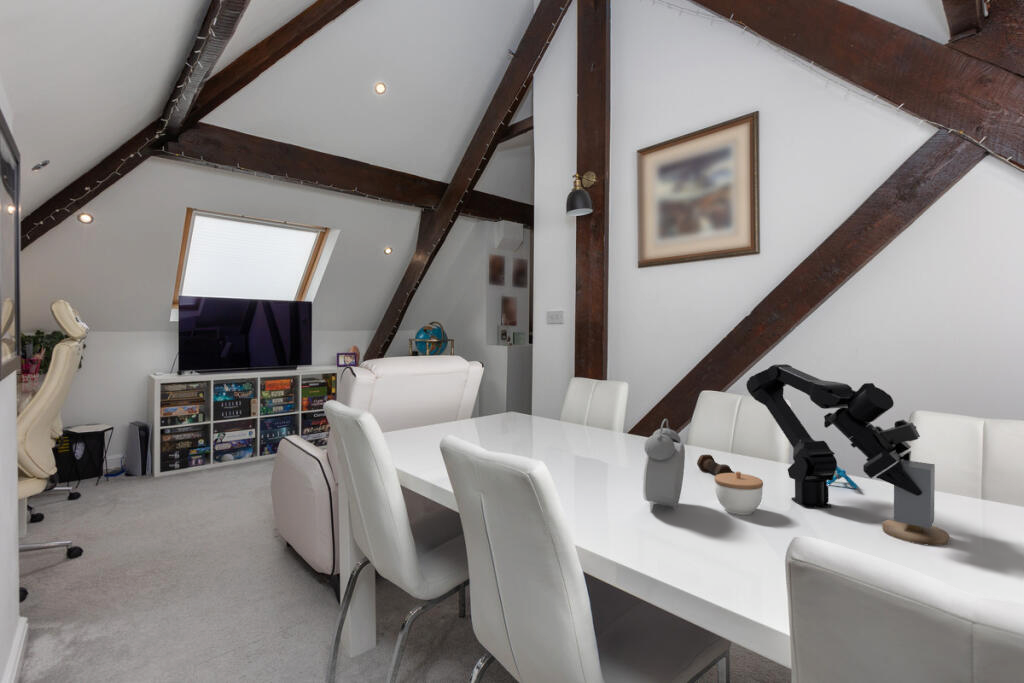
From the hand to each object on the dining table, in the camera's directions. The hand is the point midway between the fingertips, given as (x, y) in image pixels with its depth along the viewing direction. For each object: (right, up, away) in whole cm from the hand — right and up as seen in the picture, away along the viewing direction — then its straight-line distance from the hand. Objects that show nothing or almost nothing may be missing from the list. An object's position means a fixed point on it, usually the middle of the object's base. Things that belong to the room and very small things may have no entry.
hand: (922, 491), depth 106 cm
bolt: (-24, -10, +46) cm, 53 cm away
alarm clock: (-48, -10, +20) cm, 53 cm away
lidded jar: (-31, -10, +17) cm, 37 cm away
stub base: (-1, -9, +1) cm, 10 cm away
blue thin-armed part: (+6, -9, +36) cm, 37 cm away
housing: (-1, -7, +1) cm, 7 cm away
